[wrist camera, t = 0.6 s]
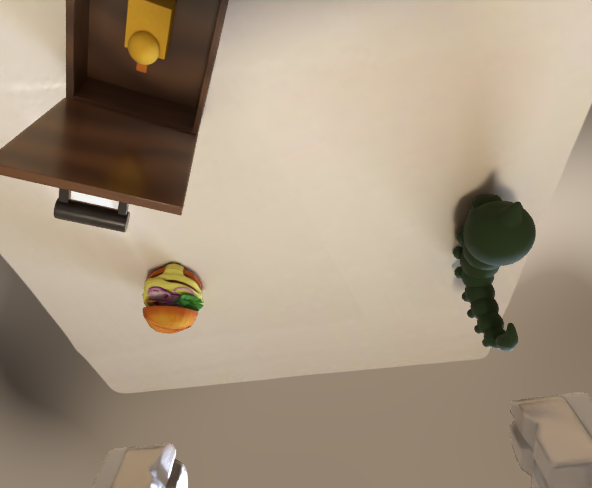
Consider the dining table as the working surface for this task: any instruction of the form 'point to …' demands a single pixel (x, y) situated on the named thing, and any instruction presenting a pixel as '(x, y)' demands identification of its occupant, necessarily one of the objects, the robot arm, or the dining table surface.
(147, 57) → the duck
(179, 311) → the cheeseburger
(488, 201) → the toy figurine
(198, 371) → the dining table surface
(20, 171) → the lid
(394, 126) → the dining table surface
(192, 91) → the chest
